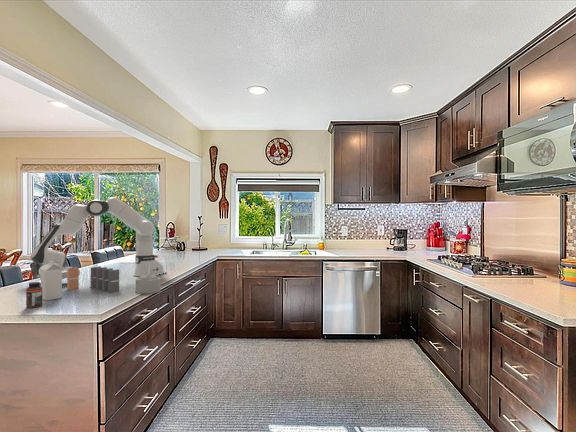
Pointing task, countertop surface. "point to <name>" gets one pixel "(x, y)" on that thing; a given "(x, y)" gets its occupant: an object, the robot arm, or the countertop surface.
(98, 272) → the domino
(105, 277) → the domino
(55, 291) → the milk carton
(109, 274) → the domino
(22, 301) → the countertop surface
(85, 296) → the countertop surface
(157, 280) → the light gray block
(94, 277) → the domino
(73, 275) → the terracotta domino
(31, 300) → the supplement bottle
